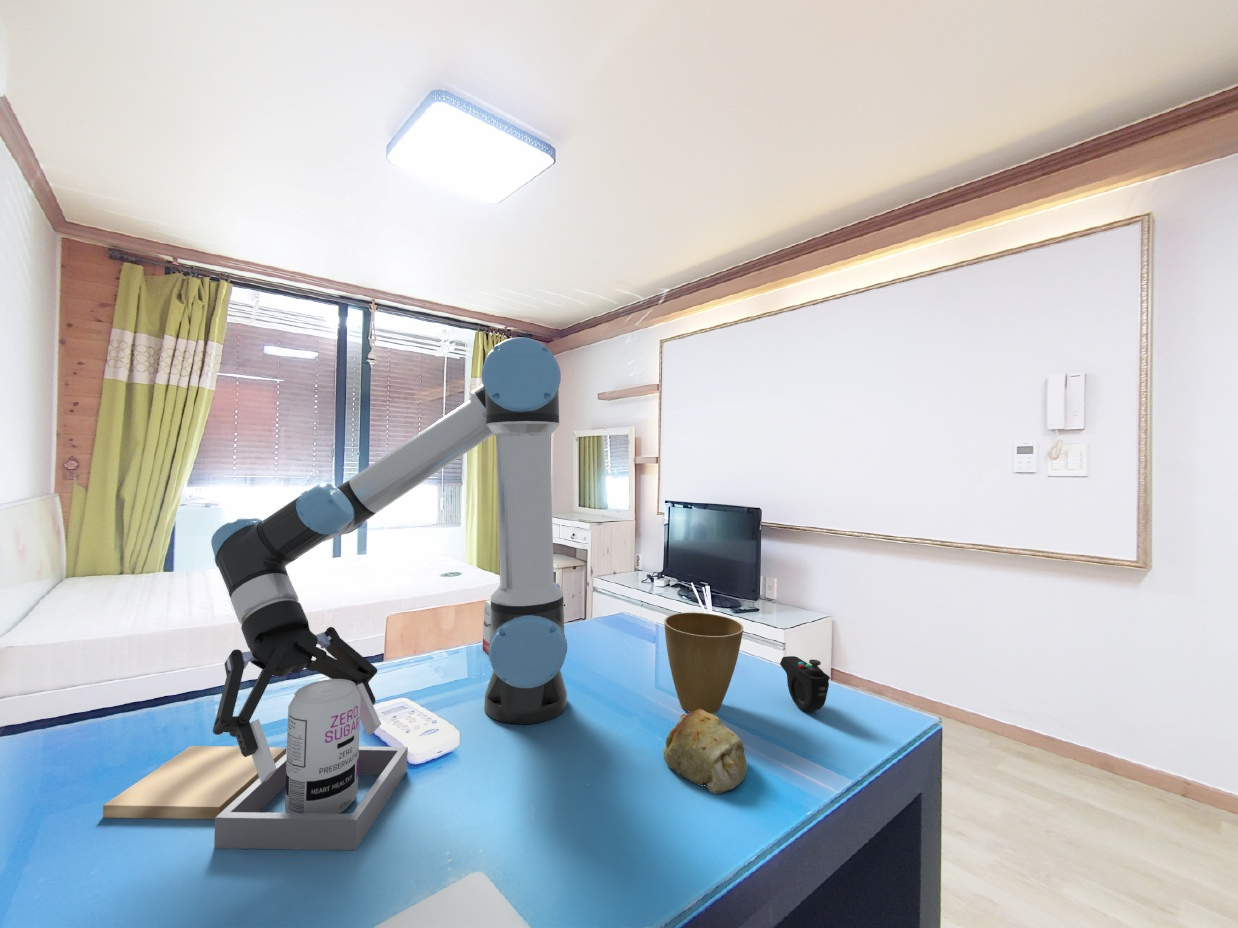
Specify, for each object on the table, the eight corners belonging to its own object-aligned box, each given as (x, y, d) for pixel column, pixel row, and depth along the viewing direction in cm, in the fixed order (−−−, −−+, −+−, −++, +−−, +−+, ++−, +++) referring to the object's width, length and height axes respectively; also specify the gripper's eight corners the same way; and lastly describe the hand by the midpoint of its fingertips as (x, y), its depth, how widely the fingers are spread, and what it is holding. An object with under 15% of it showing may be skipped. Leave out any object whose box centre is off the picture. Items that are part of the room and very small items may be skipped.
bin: (406, 771, 78) (407, 746, 78) (355, 849, 62) (356, 819, 62) (294, 769, 77) (295, 744, 77) (214, 848, 61) (215, 817, 61)
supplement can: (304, 787, 73) (308, 677, 73) (366, 786, 74) (370, 677, 74) (270, 827, 65) (275, 703, 65) (341, 825, 66) (345, 703, 66)
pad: (286, 757, 80) (286, 747, 80) (218, 818, 66) (219, 806, 66) (190, 755, 80) (190, 745, 80) (102, 817, 66) (103, 805, 66)
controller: (811, 722, 97) (813, 667, 97) (776, 693, 109) (777, 644, 109) (832, 720, 98) (834, 665, 98) (795, 692, 110) (796, 643, 110)
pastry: (660, 742, 89) (662, 693, 89) (736, 745, 89) (737, 696, 89) (666, 794, 75) (668, 736, 75) (756, 797, 74) (758, 740, 74)
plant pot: (651, 715, 98) (653, 627, 98) (674, 685, 112) (676, 608, 112) (733, 732, 92) (736, 639, 92) (746, 699, 106) (749, 618, 106)
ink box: (489, 655, 125) (490, 605, 126) (482, 649, 130) (483, 600, 130) (523, 649, 130) (524, 601, 130) (515, 643, 134) (516, 596, 134)
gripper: (343, 610, 89) (397, 727, 81) (152, 652, 68) (200, 816, 60) (363, 583, 86) (421, 701, 78) (171, 617, 65) (224, 784, 57)
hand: (326, 751), depth 69 cm, fingers open, 13 cm apart
